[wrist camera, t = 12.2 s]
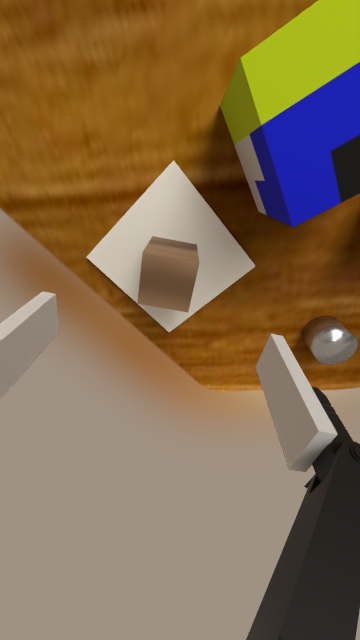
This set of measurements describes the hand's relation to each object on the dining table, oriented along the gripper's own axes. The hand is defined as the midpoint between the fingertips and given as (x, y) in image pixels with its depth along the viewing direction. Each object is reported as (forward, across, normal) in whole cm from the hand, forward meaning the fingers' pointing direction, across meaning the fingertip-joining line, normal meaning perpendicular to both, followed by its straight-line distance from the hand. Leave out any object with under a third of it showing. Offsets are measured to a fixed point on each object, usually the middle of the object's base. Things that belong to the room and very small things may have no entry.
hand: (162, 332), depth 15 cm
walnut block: (+15, -1, 0) cm, 15 cm away
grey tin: (+16, +21, -6) cm, 28 cm away
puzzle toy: (+17, +8, +14) cm, 23 cm away
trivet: (+16, -1, 0) cm, 16 cm away
